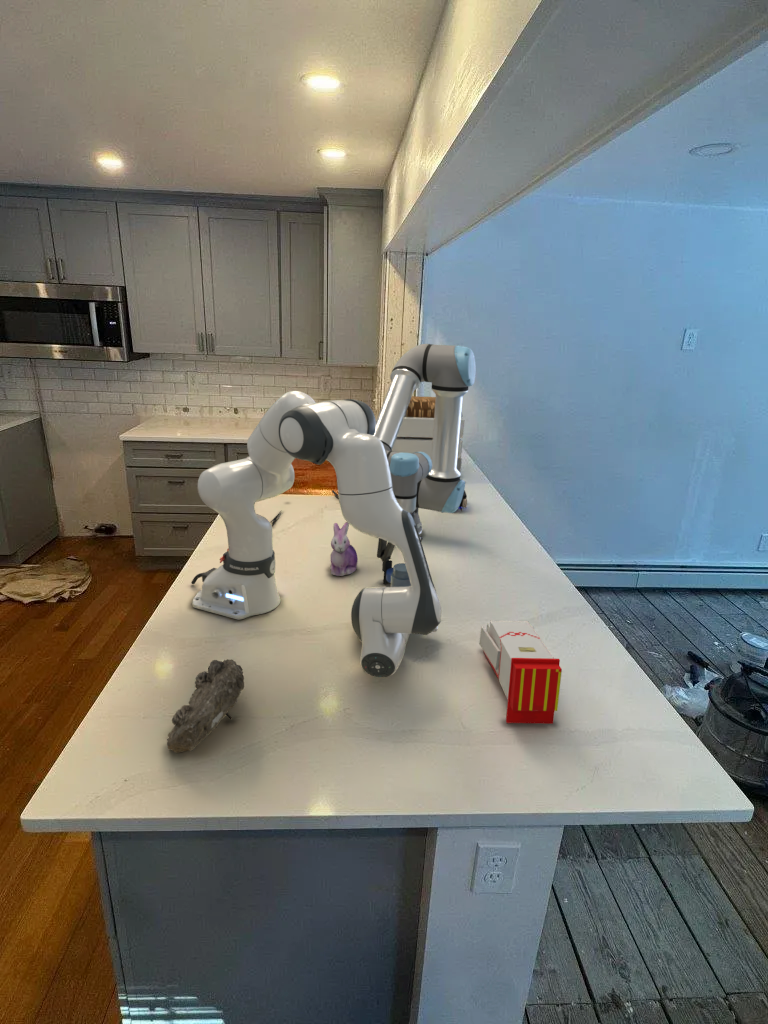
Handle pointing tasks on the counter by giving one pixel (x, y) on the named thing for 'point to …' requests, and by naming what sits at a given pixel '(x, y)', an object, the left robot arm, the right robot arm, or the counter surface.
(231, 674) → the fossil
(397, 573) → the grey tall cylinder
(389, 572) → the lid
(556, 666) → the toy
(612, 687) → the counter surface
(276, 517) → the feather
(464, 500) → the figurine character
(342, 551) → the figurine
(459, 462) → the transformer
